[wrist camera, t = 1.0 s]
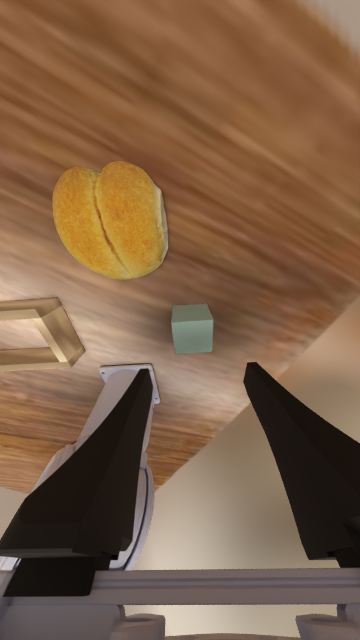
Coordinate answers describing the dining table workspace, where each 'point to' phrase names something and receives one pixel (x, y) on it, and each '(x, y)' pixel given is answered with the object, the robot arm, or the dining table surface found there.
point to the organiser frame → (52, 328)
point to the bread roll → (112, 219)
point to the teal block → (192, 328)
